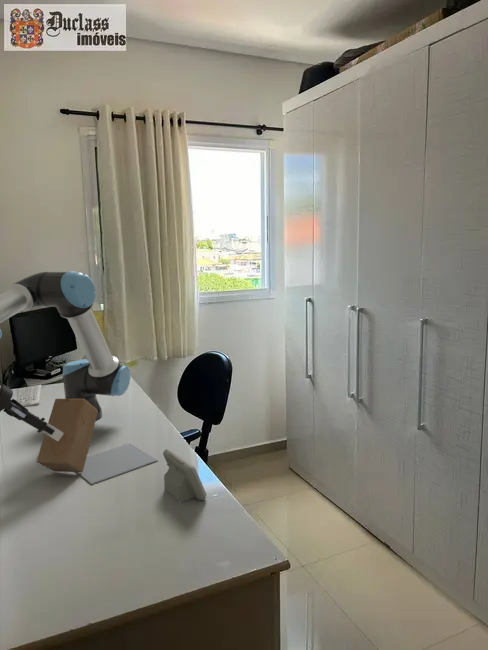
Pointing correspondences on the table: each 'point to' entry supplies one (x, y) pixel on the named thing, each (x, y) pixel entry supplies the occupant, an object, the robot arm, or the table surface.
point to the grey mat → (114, 463)
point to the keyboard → (29, 396)
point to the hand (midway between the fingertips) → (60, 436)
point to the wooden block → (68, 436)
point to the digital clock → (182, 478)
